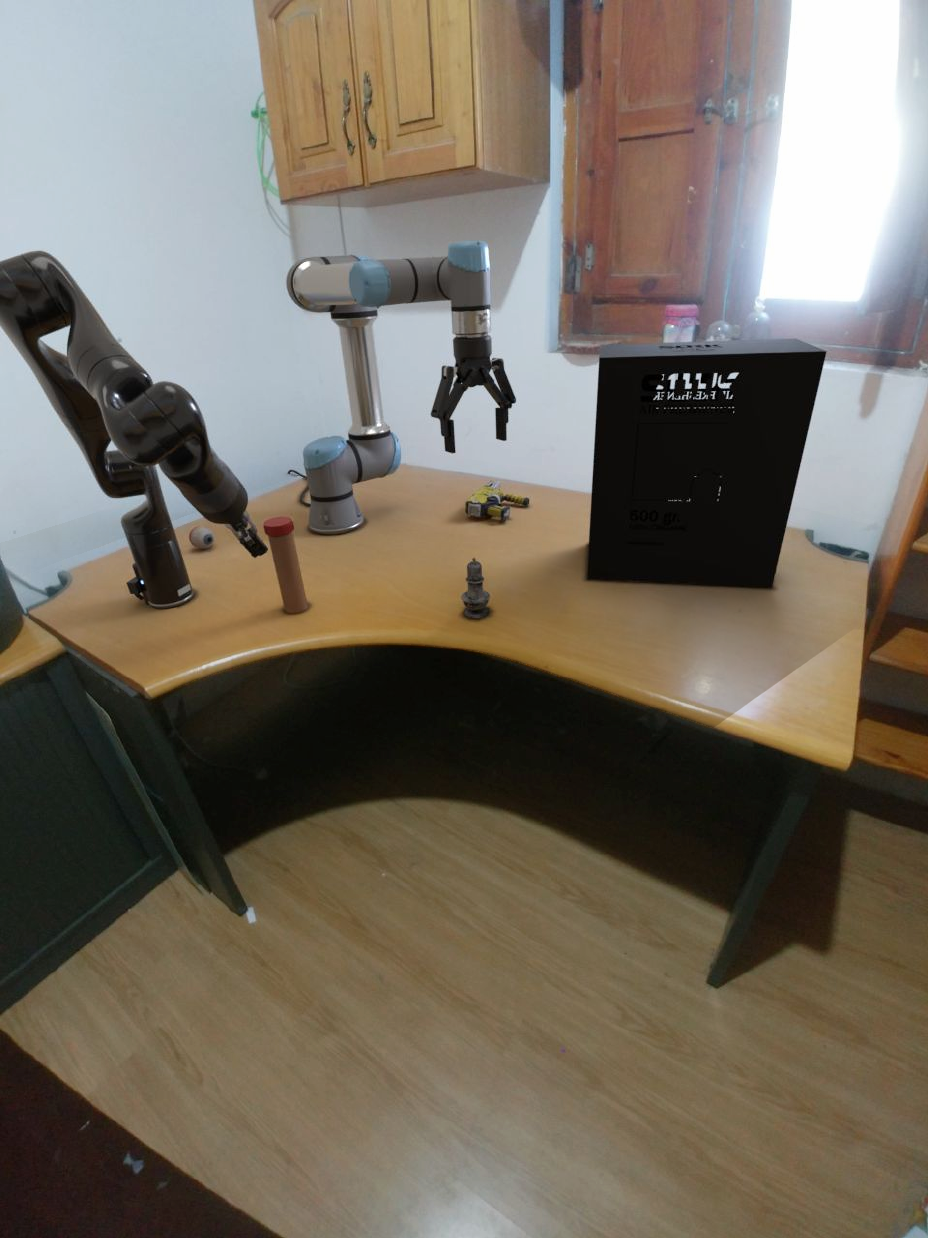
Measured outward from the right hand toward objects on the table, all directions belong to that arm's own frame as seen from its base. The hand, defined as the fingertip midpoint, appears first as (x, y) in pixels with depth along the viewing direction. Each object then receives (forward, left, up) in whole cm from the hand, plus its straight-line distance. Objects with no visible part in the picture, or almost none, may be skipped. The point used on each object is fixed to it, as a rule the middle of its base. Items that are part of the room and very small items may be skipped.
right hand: (476, 445), depth 127 cm
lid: (-10, -42, -9) cm, 44 cm away
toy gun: (-27, +29, -28) cm, 48 cm away
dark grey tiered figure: (+17, -14, -28) cm, 36 cm away
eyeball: (-58, -47, -28) cm, 80 cm away
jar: (-10, -42, -28) cm, 51 cm away
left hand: (+2, -51, -5) cm, 51 cm away
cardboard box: (+29, +33, -28) cm, 52 cm away
